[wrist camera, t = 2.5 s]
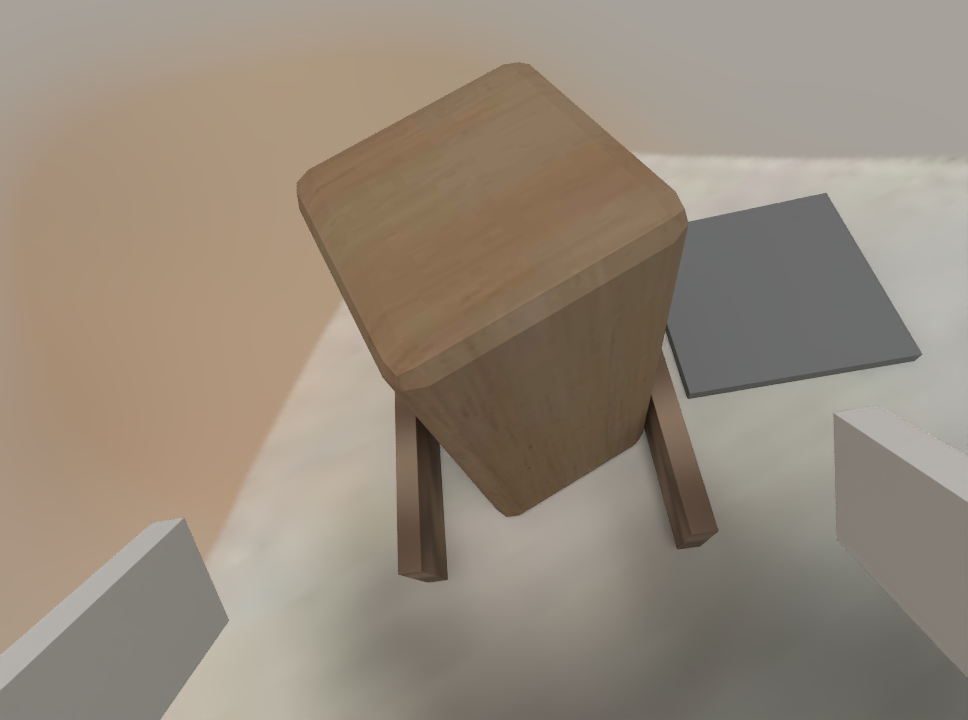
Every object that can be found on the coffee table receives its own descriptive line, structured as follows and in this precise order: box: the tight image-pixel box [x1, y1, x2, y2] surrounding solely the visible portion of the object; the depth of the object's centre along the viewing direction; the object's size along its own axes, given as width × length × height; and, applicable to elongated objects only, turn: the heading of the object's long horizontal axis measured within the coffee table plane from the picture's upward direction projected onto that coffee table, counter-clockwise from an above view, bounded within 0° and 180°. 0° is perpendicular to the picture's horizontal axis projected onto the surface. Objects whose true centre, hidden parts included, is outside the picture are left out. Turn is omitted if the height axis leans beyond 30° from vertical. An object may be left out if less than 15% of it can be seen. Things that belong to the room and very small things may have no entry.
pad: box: [666, 193, 922, 399], centre depth 34 cm, size 13×13×1 cm
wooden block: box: [297, 63, 689, 517], centre depth 24 cm, size 10×10×20 cm
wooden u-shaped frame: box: [395, 348, 718, 582], centre depth 31 cm, size 17×15×5 cm
